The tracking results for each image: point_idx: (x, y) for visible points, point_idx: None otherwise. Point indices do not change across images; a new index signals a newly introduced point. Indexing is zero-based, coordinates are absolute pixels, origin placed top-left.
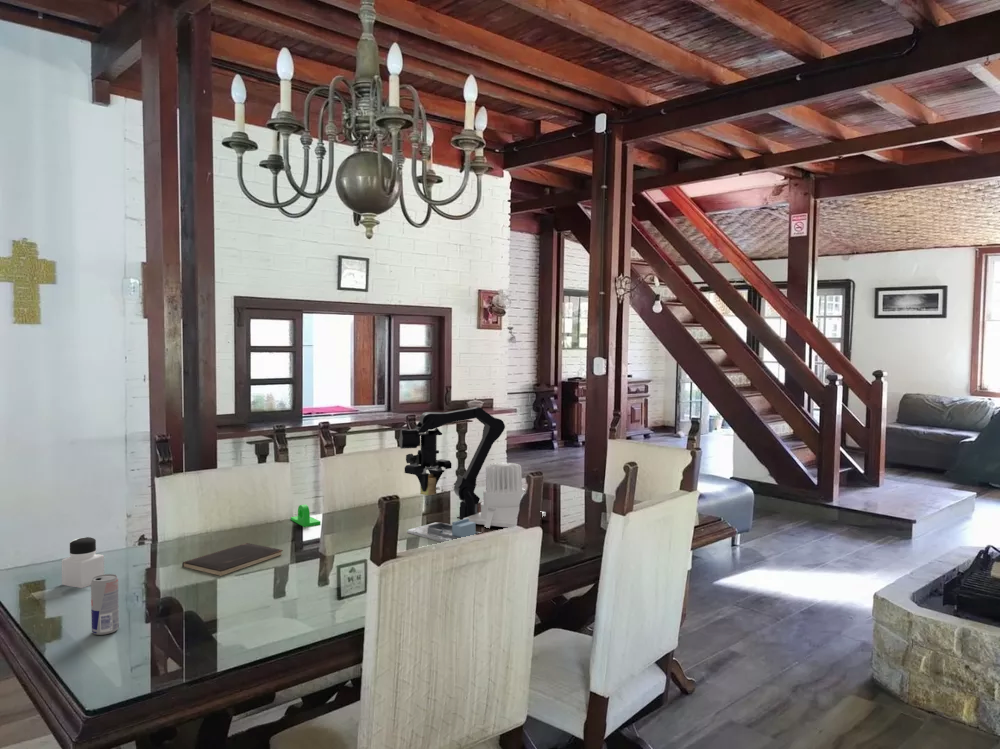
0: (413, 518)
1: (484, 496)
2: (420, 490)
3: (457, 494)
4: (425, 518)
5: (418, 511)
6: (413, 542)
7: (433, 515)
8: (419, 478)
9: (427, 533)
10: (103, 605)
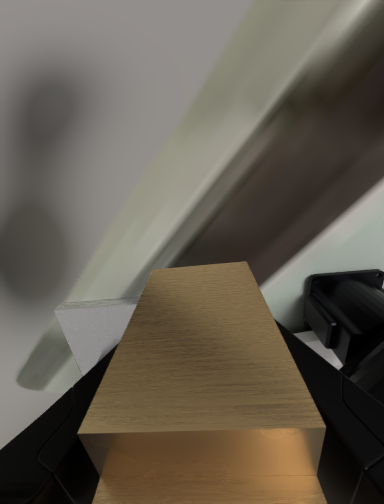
0: (192, 142)
1: None
2: (145, 286)
3: (366, 375)
4: (232, 182)
5: (321, 5)
6: (42, 368)
7: (299, 159)
8: (12, 477)
9: (90, 368)
10: None
